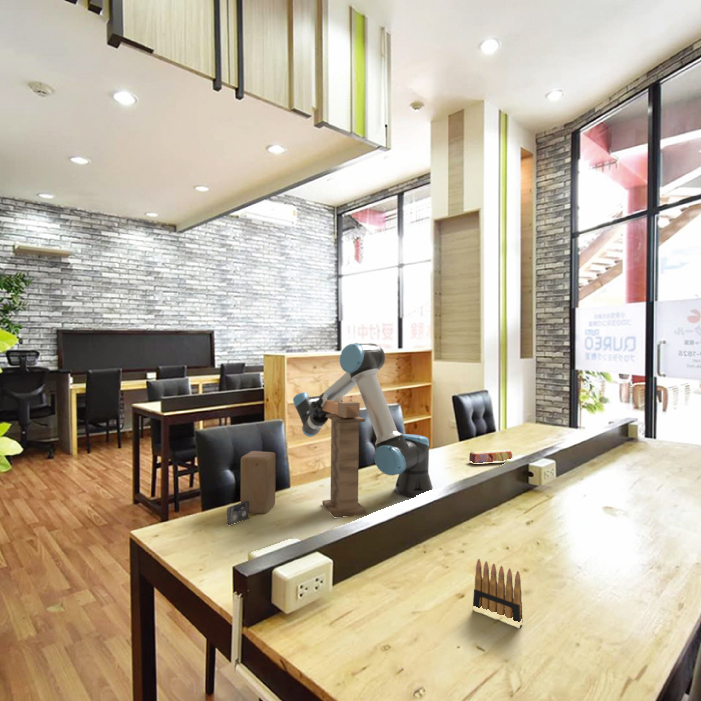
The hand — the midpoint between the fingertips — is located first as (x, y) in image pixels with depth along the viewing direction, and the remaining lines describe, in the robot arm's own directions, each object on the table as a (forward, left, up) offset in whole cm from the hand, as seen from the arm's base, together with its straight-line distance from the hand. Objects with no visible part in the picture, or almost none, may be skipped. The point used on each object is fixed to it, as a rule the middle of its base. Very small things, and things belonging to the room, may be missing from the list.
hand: (333, 396), depth 178 cm
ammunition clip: (-79, +35, -40) cm, 95 cm away
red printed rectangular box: (-27, -91, -40) cm, 103 cm away
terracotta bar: (-5, +3, -6) cm, 8 cm away
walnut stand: (-11, +7, -40) cm, 42 cm away
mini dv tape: (+9, +39, -40) cm, 56 cm away
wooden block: (+13, +26, -40) cm, 49 cm away
